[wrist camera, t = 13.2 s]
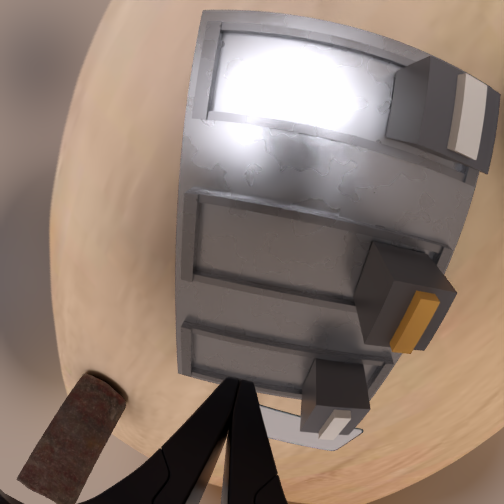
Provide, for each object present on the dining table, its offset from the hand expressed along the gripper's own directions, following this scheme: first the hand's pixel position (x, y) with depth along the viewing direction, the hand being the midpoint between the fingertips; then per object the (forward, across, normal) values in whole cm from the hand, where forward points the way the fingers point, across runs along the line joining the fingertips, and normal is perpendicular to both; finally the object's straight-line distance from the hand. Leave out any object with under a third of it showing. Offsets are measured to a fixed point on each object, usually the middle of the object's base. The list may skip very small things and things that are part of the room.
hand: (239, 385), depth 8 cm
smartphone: (+13, -8, +24) cm, 28 cm away
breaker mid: (+10, -8, 0) cm, 13 cm away
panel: (+12, -3, 0) cm, 12 cm away
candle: (+12, +18, +26) cm, 34 cm away
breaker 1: (+10, -7, +10) cm, 16 cm away
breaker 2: (+10, -7, -10) cm, 16 cm away
